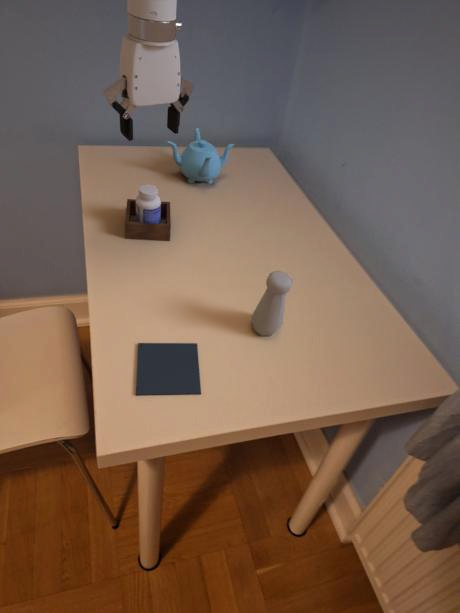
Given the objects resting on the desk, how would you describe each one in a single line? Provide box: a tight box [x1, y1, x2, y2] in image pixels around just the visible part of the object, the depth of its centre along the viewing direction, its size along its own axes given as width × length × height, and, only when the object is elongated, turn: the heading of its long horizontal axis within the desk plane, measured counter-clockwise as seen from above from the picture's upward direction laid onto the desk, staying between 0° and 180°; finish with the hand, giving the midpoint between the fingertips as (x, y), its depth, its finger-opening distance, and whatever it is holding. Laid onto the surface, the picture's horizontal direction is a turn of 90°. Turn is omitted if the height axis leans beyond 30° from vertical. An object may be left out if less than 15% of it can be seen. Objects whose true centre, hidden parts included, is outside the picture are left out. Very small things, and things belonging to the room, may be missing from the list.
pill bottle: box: [135, 183, 162, 224], centre depth 89 cm, size 5×5×10 cm
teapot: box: [166, 127, 236, 184], centre depth 108 cm, size 13×13×10 cm
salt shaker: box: [251, 270, 294, 337], centre depth 71 cm, size 6×6×13 cm
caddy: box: [124, 198, 172, 242], centre depth 91 cm, size 10×10×4 cm
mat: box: [135, 342, 202, 397], centre depth 66 cm, size 10×10×1 cm
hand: (150, 134), depth 77 cm, fingers open, 9 cm apart
